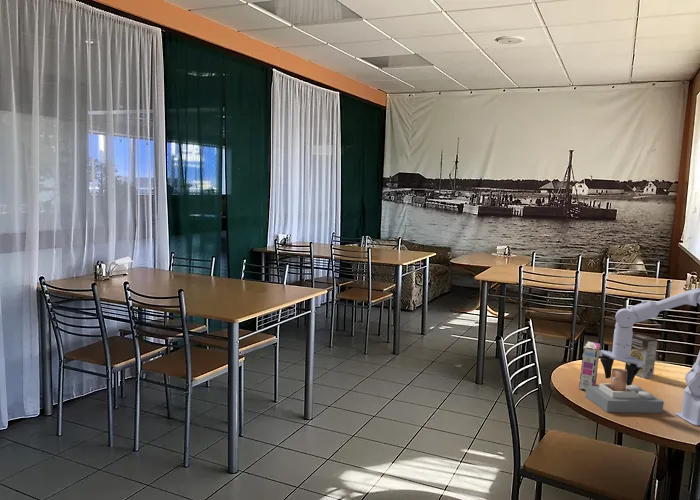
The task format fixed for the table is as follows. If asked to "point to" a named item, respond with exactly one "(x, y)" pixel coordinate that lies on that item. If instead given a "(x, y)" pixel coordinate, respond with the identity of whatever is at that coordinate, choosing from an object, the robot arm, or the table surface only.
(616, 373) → the peach tapered capsule
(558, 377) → the table surface
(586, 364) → the candy bar box
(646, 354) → the coffee box
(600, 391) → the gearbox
